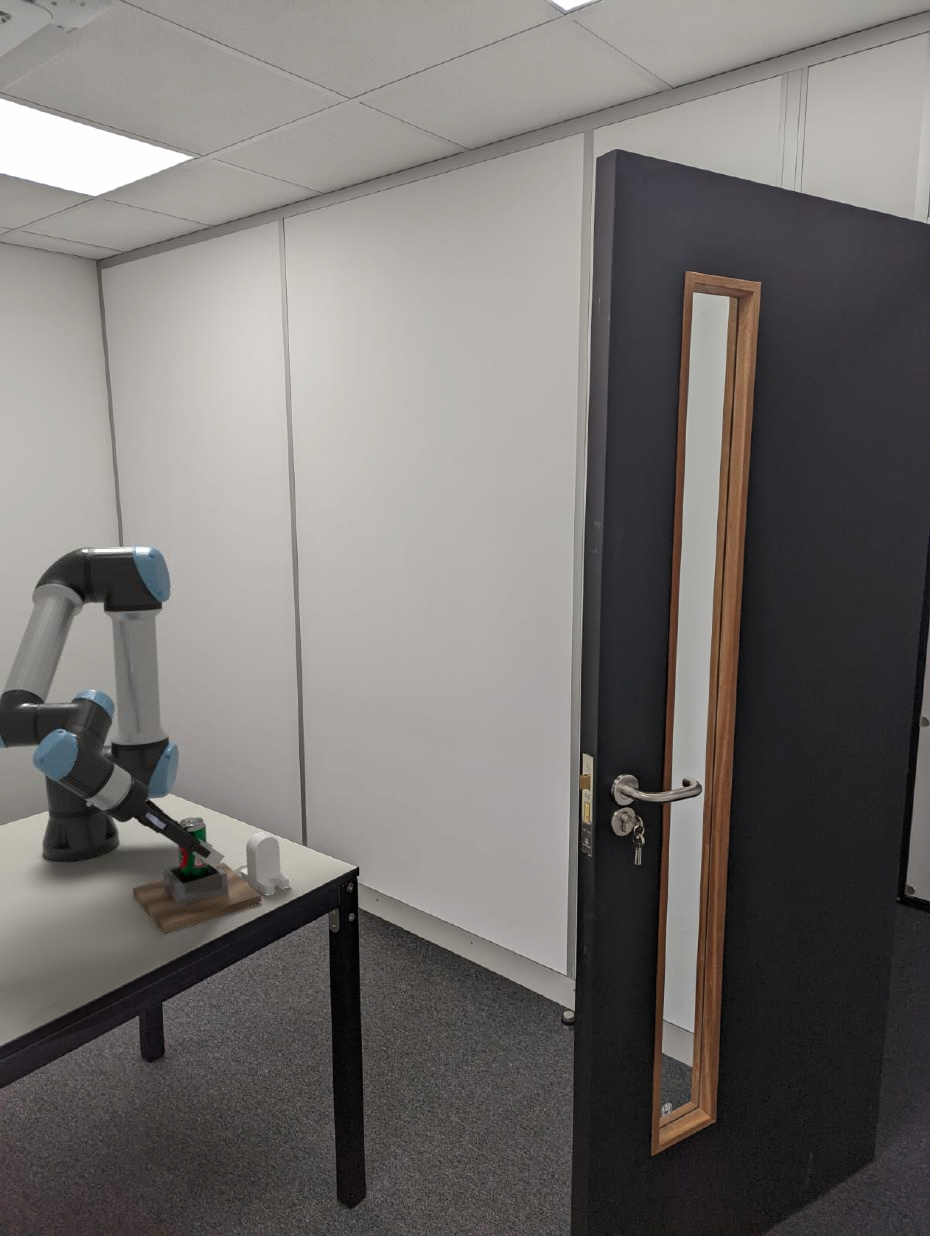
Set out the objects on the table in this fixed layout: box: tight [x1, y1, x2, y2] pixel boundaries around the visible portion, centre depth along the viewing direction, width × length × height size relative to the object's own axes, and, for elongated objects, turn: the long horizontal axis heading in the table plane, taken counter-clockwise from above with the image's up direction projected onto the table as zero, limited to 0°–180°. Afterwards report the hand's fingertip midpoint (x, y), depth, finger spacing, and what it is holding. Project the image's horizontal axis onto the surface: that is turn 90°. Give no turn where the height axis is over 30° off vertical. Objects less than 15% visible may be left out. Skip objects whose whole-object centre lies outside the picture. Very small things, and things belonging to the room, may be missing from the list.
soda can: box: [177, 816, 209, 884], centre depth 162 cm, size 5×5×12 cm
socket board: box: [132, 862, 262, 934], centre depth 163 cm, size 18×18×6 cm
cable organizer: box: [240, 831, 290, 895], centre depth 169 cm, size 5×10×10 cm, turn 44°
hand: (213, 856), depth 164 cm, fingers open, 5 cm apart
